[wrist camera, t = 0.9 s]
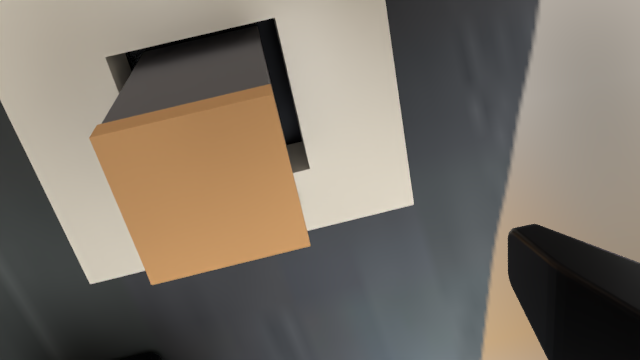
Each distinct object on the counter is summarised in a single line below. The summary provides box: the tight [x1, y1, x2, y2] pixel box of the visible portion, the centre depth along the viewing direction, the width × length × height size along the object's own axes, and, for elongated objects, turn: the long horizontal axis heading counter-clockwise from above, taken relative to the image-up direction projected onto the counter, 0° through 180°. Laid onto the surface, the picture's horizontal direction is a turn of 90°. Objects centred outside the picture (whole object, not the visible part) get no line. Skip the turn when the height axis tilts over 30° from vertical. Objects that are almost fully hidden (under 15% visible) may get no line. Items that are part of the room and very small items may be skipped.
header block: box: [0, 0, 414, 284], centre depth 19 cm, size 12×10×3 cm
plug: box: [89, 26, 311, 285], centre depth 17 cm, size 4×4×8 cm
